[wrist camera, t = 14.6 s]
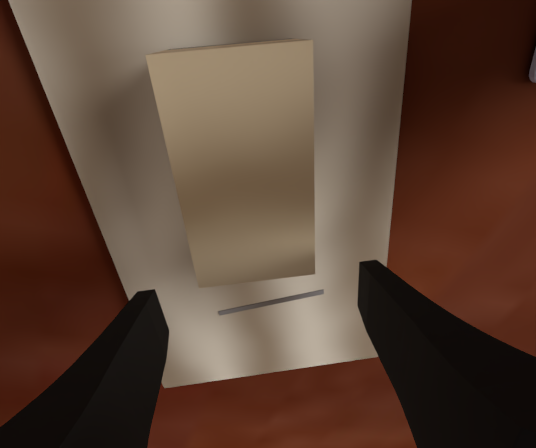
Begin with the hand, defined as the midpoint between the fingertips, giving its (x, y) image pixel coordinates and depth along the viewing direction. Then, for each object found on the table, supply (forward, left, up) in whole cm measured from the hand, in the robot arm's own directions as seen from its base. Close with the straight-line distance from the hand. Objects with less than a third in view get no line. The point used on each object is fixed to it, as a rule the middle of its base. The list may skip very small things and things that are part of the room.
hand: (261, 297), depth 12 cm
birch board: (0, 0, -6) cm, 6 cm away
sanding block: (0, -4, -5) cm, 6 cm away
